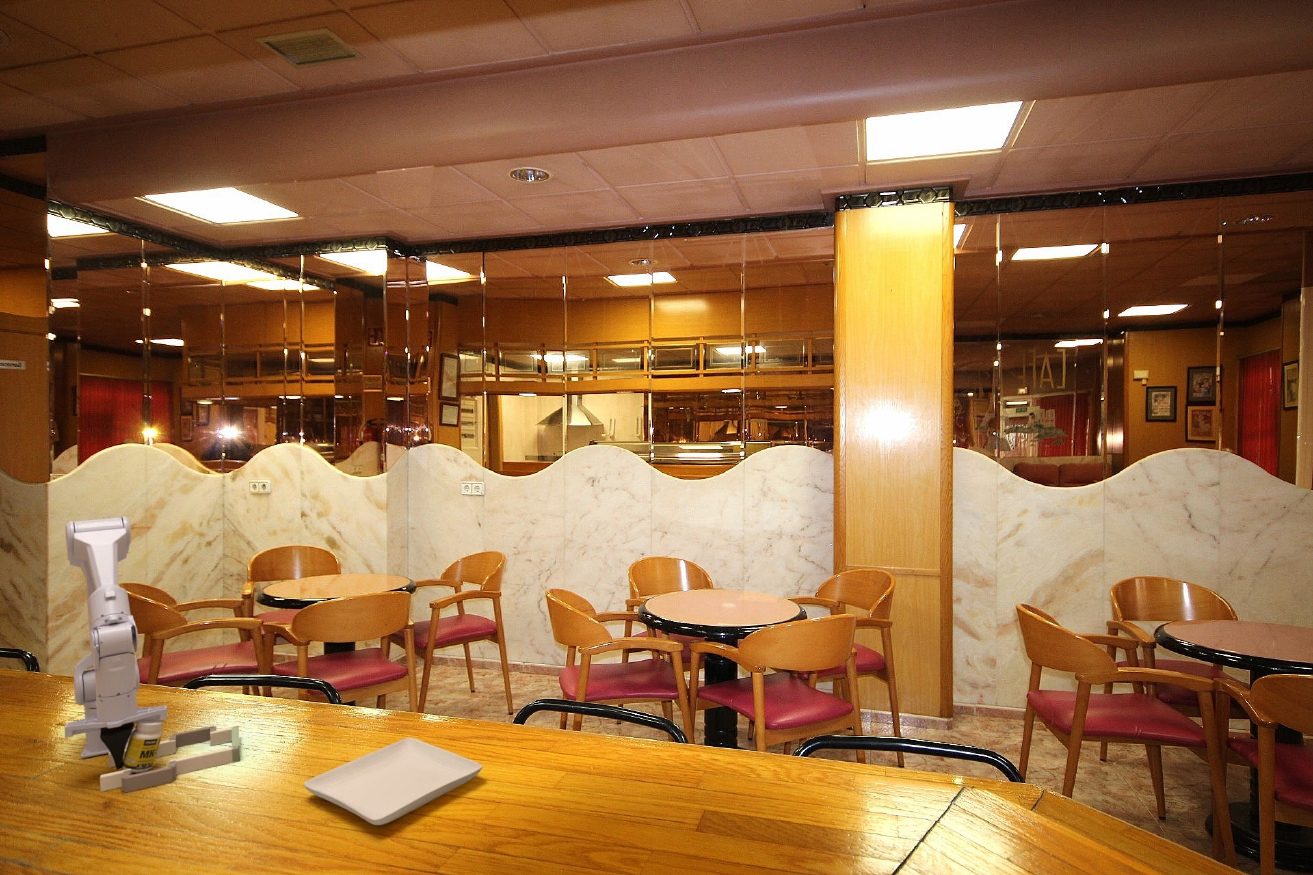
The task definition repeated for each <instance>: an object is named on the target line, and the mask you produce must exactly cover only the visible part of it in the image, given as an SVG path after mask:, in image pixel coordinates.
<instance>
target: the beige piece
mask: <svg viewBox="0 0 1313 875" xmlns="http://www.w3.org/2000/svg"><path fill="white" fill-rule="evenodd" d="M239 729H240V727H239V725H236V726H231V727H226V728H221V729H217V726H215V725H210V726H206V727H201V728H195V729H190V730H186V731H181V732H176V733H172V734H170V735H169V739H166V740H162V741H161V740H160V743H159V747H158V750H157V753H156V758H160V756H161V757H163V756H162V755H166V756H170V755H169V754H171V755H174V754H173V753H175V754H177V748H180V747H184V746H185V745H186V746H190V745H195V744H199V742H200V743H205V742H209V740H210V743H209V744H210V747H212V745H213V746H217V745H222V743H223V744H226V743H225V742H227V743H231V746H229V747H226V748H221V749H216V750H211V751H206V752H201V753H197V754H193V755H188V756H183V757H179V758H175V759H170V760H169V762H168V766H167V767H166V766H165V767H161V768H158V769H154V770H147V771H144V772H138V773H136V774H135V773H134V774H132V772H131V769H127V770H124V769H122V770H118V771H114V772H109V773H104V774H101V775H100V777H99V784H100V785H99V787H100V788H99V790H100V792H101V793H102V792H105V791H111V790H115V789H120V788H121V793H124V794H125V793H126V792H127V793H130V792H134V791H139V789H140V790H143V788H144V789H148V787H149V788H153V787H156V786H161V784H162V785H165V783H166V784H170V782H171V783H173V782H174V781H176V779H177V775H182V774H186V773H191V772H195V771H200V770H203V769H204V768H205V769H209V768H212V767H218V766H222V764H223V765H226V764H231V763H230V762H232V763H234V762H235V763H236V762H240V761H241V753H240V730H239ZM231 741H232V742H231ZM126 750H127V748H126V749H125V751H124V755H123V759H124V756H125V753H126ZM107 755H108V756H107V757H108V758H107V760H108V761H107V762H108V768H113V767H116V766H115V762H114V759H113V757H112V755H111V753H110V752H109V753H107ZM205 769H204V770H205ZM172 781H173V782H172ZM152 786H153V787H152Z"/></svg>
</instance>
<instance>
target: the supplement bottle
mask: <svg viewBox="0 0 1313 875" xmlns="http://www.w3.org/2000/svg"><path fill="white" fill-rule="evenodd" d="M163 724H164V719H163V720H159V719H157V720H151V721H138V722H137V723H136V724H135V725H136V726H135V728H134V729H135V730H134V731H133V732H132V733H131V736H130V740H129V743H128V746H127V750H126V753H125V756H124V759H123V763H122V768H121V769H122V770H127V769H131V773H143V772H148V771H150V770H151V769H152V768H153V767H154V764H155V759H156V758H157V757H156V753H157V750H158V747H159V743H160V742H161V740H162V737H163V732H162V728H163ZM155 757H156V758H155Z"/></svg>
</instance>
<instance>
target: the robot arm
mask: <svg viewBox="0 0 1313 875" xmlns="http://www.w3.org/2000/svg"><path fill="white" fill-rule="evenodd" d="M64 530H65V533H64V534H65V546H66V552H67V555H66V556H67V560H68V562H69V565H70V566H74V567H77V568H80V569H81V572H82V573H83V575H84V578H85V589H86V590H85V591H86V602H87V603H86V605H87V615H88V629H89V630H88V631H89V646H90V647H89V648H90V651H89V652H88V653H86V655H84V656H83V657H82V658H81V659H79V661H78V662H76V664H75V666H74V668H73V672H74V673H73V674H74V675H73V692H74V694H73V695H74V700H75V701H74V702H75V704H77V705H79V706H83V708H84V709H83V710H84V719H83V718H82V719H80V720H76V721H69V722H67V723H66V724H65V725H64V738H65V739H67V738H71V737H74V736H75V735H81V734H85V746H84V747H83V750H82V752H81V754H80V758H81V759H85V758H90V757H95V756H101V755H104V754H106V755H107V754H109V752H110V753H111V755H112V757H113V759H114V762H115V766H114V767H115V769H116V770H120V769H123V768H122V763H123V755H124V751H125V749H126V748H127V746H128V743H129V740H130V736H131V733H132V732H133V731H134V730H135V729H136V728H134V726H135V725H136V724H137V722H138V721H151V720H157V719H159V720H163V721H164V720H167V718H168V705H159V706H148V707H138V705H137V704H138V701H137V699H138V697H137V692H138V691H139V689H140V684H141V683H140V682H141V681H140V671H139V670H140V669H139V666H138V662H137V661H138V660H137V656H136V654H135V653H137V652H138V647H139V632H138V627H137V625H136V621H135V620H134V619H135V618H134V615H132V614H131V609H130V601H129V596H128V591H127V590H126V589H125V588H123V587H120V585H119V567H118V564H119V563H120V562H122V561H123V560H125V559H127V556H128V555H127V554H128V553H129V550H130V546H131V545H130V544H131V541H132V540H131V539H132V538H131V537H132V536H131V535H132V534H131V532H132V530H131V524H130V519H129V518H128V517H127V516H126V515H124V516H123V515H122V516H120V517H110V518H108V517H107V518H99V519H89V520H77V521H76V520H75V521H73V520H69V521H68V522H67V523H66V524H65V529H64ZM133 650H134V651H133ZM90 668H93V669H90ZM87 669H88V670H87Z"/></svg>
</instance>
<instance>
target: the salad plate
mask: <svg viewBox="0 0 1313 875" xmlns="http://www.w3.org/2000/svg"><path fill="white" fill-rule="evenodd" d="M483 768H484V766H483V765H482V764H481V763H479V762H476V761H474V760H471V759H469V758H467V757H464V756H462V755H460V754H457V753H454V752H451V751H449V750H447V749H443V748H441V747H438V746H436V745H432V744H430V743H427V742H425V741H423V740H420V739H416V738H414V737H406V738H404V739H403V738H402V739H401V740H399V741H396V742H393V743H391V744H388V745H386V746H384V747H382V748H379V749H377V750H374V751H372V752H370V753H367V754H366V755H365V754H364V755H362V756H360V757H358V758H356V759H354V760H351V761H348V762H347V763H344V764H342V765H339V766H337V767H335V768H333V769H330V770H327V771H325V772H324V773H321V774H319V775H317V776H314V777H312V778H310V779H308V780H306V781H305V782H304V783H303V787H304V788H305V789H306V790H307V791H308V792H309V793H311V794H313V795H315V796H317V797H320V798H321V799H324V800H326V801H328V802H330V803H332V804H335V805H336V806H338V807H341V808H342V809H345V810H346V811H349V813H350V812H351V813H352V814H354V815H355V816H357V817H360V818H361V819H363V820H365V821H366V822H368V823H369V824H372V825H374V826H382V825H387V824H389V823H391V822H393V821H395V820H397V819H399V818H401V817H403V816H405V815H407V814H409V813H411V812H413V811H415V810H417V809H419V808H421V807H422V806H425V805H426V804H428V803H430V802H432V801H433V800H436V799H437V798H439V797H440V796H442V795H445V794H446V793H448V792H450V791H453V790H454V789H456V788H458V787H461V786H462V785H464V784H465V783H468V782H469V781H471V780H472V779H473V778H475V777H477V776H478V774H479V773H480V772H481V770H482V769H483Z"/></svg>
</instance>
